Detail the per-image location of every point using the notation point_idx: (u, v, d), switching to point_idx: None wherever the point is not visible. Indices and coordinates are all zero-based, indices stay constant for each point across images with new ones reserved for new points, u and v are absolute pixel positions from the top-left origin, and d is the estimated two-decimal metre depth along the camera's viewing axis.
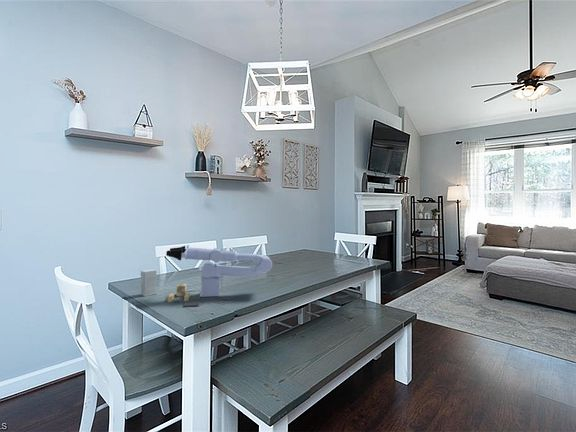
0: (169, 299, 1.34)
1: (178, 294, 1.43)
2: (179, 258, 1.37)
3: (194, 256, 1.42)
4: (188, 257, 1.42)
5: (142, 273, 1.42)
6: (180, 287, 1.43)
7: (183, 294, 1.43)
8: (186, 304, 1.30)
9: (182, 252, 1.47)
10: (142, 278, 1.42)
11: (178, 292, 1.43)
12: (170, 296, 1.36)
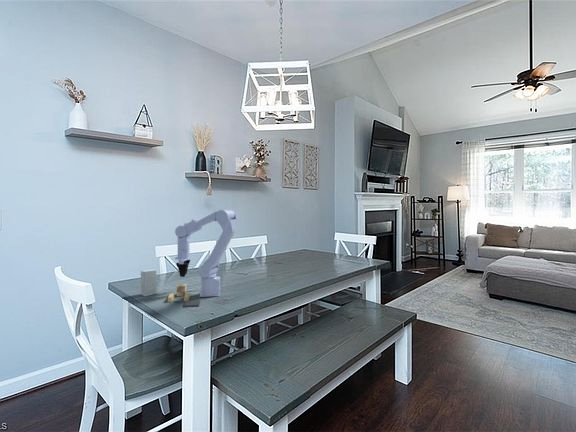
0: (169, 299, 1.34)
1: (178, 294, 1.43)
2: (185, 264, 1.45)
3: (184, 251, 1.47)
4: (186, 256, 1.48)
5: (142, 273, 1.42)
6: (180, 287, 1.43)
7: (183, 294, 1.43)
8: (186, 304, 1.30)
9: (185, 262, 1.52)
10: (142, 278, 1.42)
11: (178, 292, 1.43)
12: (170, 296, 1.36)
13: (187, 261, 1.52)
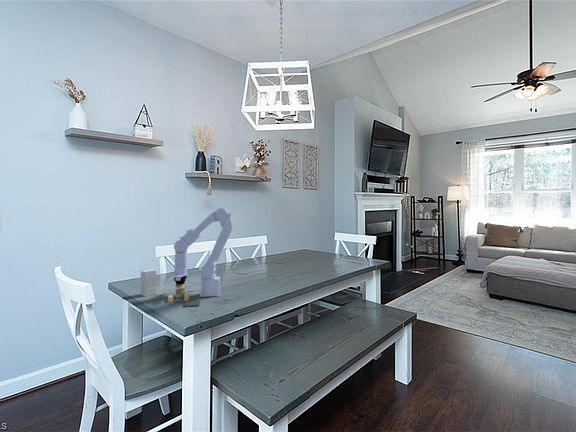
0: (169, 299, 1.34)
1: (177, 296, 1.41)
2: (183, 279, 1.42)
3: (181, 267, 1.42)
4: (183, 272, 1.42)
5: (142, 273, 1.42)
6: (179, 289, 1.40)
7: (182, 295, 1.41)
8: (186, 304, 1.30)
9: None
10: (142, 278, 1.42)
11: (177, 294, 1.40)
12: (170, 296, 1.36)
13: None
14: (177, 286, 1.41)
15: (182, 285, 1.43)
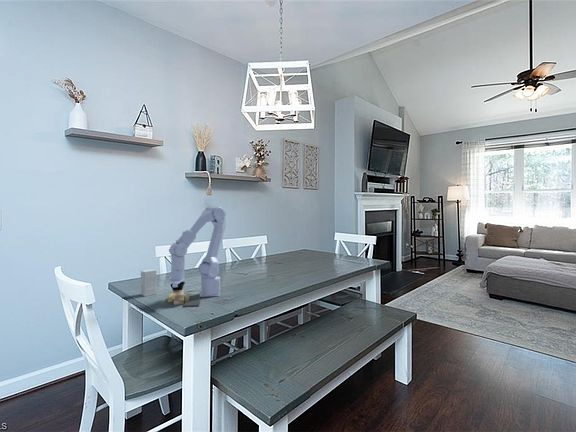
0: (169, 299, 1.34)
1: (176, 303, 1.30)
2: (180, 286, 1.33)
3: (178, 272, 1.32)
4: (180, 278, 1.33)
5: (142, 273, 1.42)
6: (178, 296, 1.29)
7: (181, 302, 1.31)
8: (186, 304, 1.30)
9: None
10: (142, 278, 1.42)
11: (175, 301, 1.30)
12: (170, 296, 1.36)
13: None
14: (175, 292, 1.31)
15: (181, 291, 1.32)
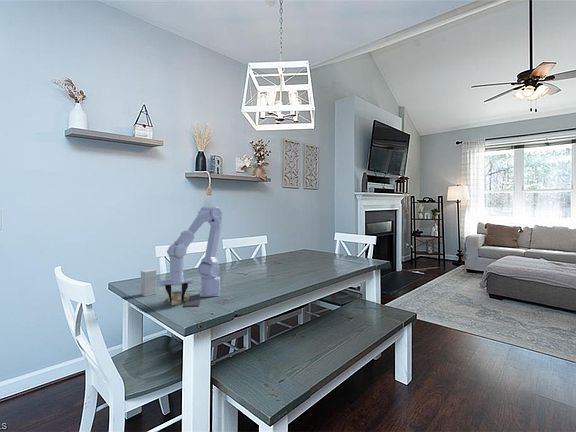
0: (169, 299, 1.34)
1: (173, 303, 1.30)
2: (165, 288, 1.28)
3: (170, 273, 1.30)
4: (171, 280, 1.29)
5: (142, 273, 1.42)
6: (176, 295, 1.30)
7: (179, 302, 1.31)
8: (186, 304, 1.30)
9: None
10: (142, 278, 1.42)
11: (173, 300, 1.30)
12: None
13: (182, 286, 1.31)
14: (173, 292, 1.32)
15: (179, 291, 1.33)
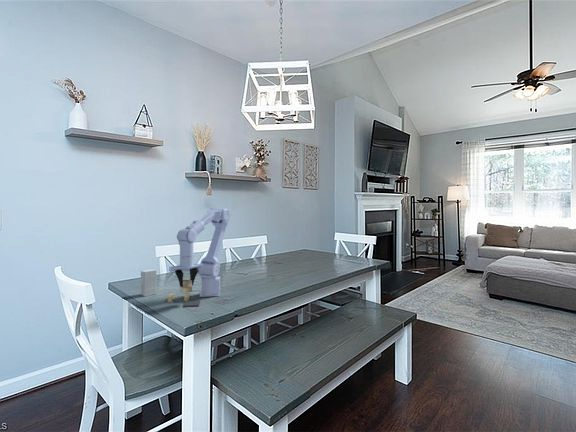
0: (169, 299, 1.34)
1: (185, 290, 1.30)
2: (177, 273, 1.27)
3: (181, 258, 1.29)
4: (182, 265, 1.29)
5: (142, 273, 1.42)
6: (187, 282, 1.30)
7: (190, 290, 1.31)
8: (186, 304, 1.30)
9: (191, 272, 1.32)
10: (142, 278, 1.42)
11: (185, 288, 1.30)
12: (170, 296, 1.36)
13: (192, 271, 1.31)
14: (183, 280, 1.31)
15: (187, 279, 1.33)
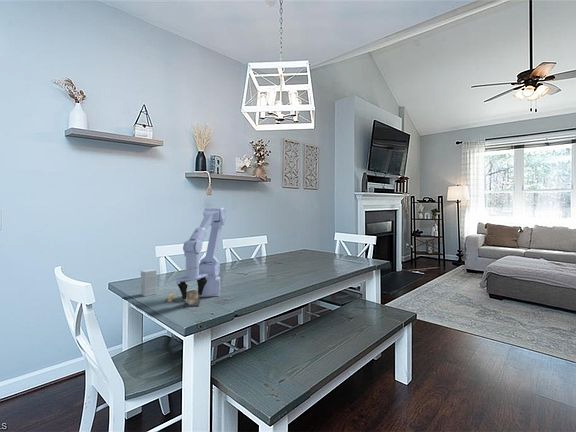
0: (169, 299, 1.34)
1: (191, 302, 1.30)
2: (181, 286, 1.26)
3: (187, 270, 1.29)
4: (189, 276, 1.29)
5: (142, 273, 1.42)
6: (193, 294, 1.30)
7: (196, 301, 1.32)
8: (186, 304, 1.30)
9: (200, 282, 1.34)
10: (142, 278, 1.42)
11: (191, 300, 1.30)
12: (170, 296, 1.36)
13: (201, 281, 1.33)
14: (189, 292, 1.31)
15: (193, 290, 1.33)
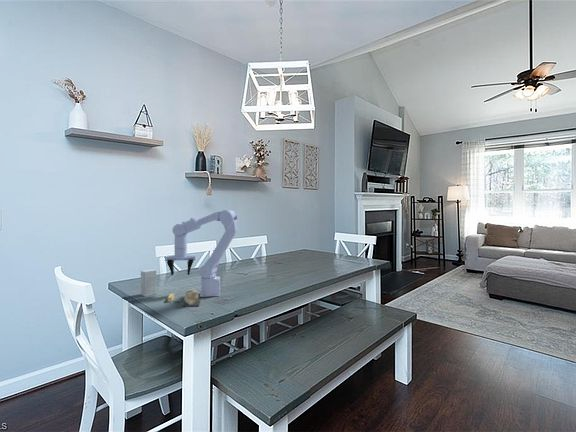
0: (169, 299, 1.34)
1: (191, 302, 1.30)
2: None
3: None
4: (175, 255, 1.45)
5: (142, 273, 1.42)
6: (193, 294, 1.30)
7: (196, 301, 1.32)
8: (186, 304, 1.30)
9: None
10: (142, 278, 1.42)
11: (191, 300, 1.30)
12: (170, 296, 1.36)
13: (187, 262, 1.46)
14: (189, 292, 1.31)
15: (193, 290, 1.33)
